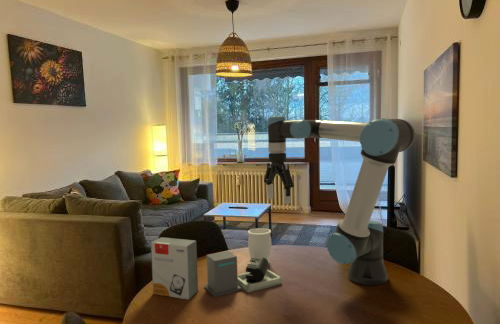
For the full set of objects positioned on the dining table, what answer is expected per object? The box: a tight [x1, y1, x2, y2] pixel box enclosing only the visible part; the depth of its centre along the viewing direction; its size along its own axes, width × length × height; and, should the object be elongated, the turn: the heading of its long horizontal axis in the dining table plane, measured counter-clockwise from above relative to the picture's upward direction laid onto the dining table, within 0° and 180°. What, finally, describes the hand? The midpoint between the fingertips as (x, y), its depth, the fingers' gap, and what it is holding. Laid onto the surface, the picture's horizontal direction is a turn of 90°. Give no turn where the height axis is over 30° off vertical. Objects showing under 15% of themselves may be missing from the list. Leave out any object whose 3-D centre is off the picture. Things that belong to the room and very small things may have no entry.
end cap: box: [245, 257, 270, 283], centre depth 147 cm, size 10×7×7 cm
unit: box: [203, 250, 243, 298], centre depth 142 cm, size 10×11×13 cm
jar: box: [247, 227, 272, 264], centre depth 168 cm, size 11×10×15 cm
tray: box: [237, 268, 283, 293], centre depth 147 cm, size 12×15×2 cm
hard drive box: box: [150, 237, 199, 301], centre depth 139 cm, size 16×8×20 cm, turn 70°
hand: (278, 201), depth 163 cm, fingers open, 13 cm apart
